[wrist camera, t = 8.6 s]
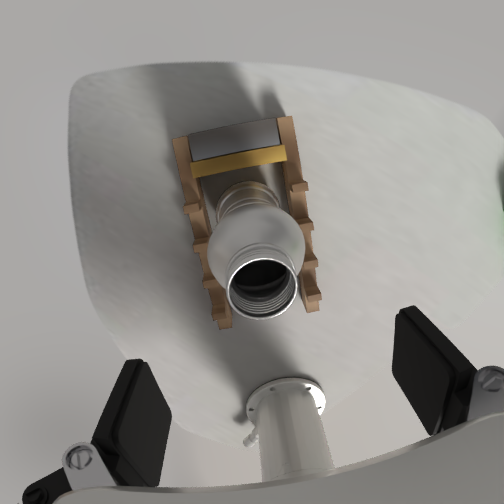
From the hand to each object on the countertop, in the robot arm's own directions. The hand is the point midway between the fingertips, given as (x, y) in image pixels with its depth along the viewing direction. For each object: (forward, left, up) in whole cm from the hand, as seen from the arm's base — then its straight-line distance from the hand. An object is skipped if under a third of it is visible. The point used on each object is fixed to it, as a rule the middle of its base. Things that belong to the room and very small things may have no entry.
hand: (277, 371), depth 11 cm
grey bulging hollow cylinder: (0, 0, -26) cm, 26 cm away
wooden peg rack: (-1, -1, -26) cm, 26 cm away
